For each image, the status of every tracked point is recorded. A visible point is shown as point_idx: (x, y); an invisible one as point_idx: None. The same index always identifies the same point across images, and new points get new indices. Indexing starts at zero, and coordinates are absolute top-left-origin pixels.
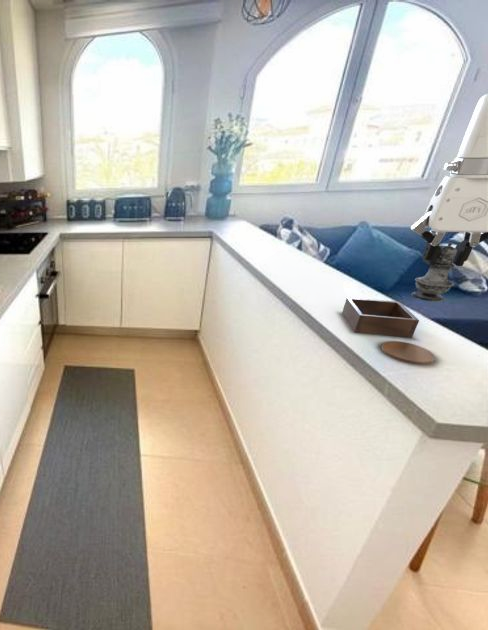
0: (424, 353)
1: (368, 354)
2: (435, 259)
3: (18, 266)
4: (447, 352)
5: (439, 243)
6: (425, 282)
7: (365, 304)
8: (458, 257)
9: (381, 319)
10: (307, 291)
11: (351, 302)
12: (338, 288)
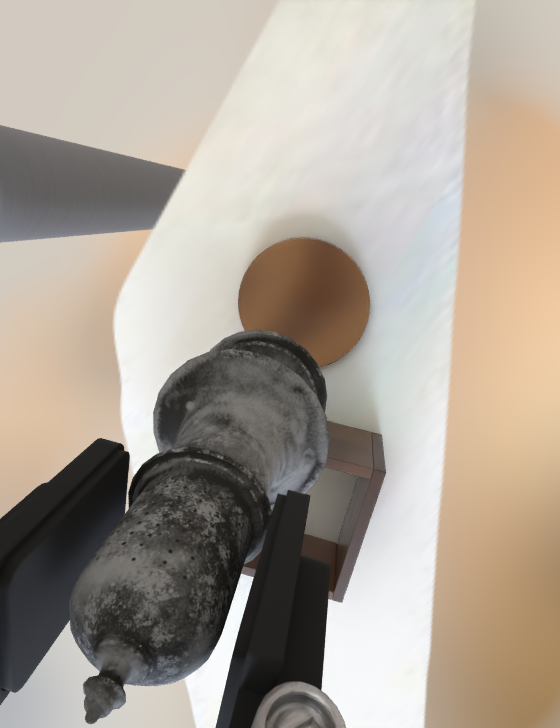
0: (262, 293)
1: (429, 291)
2: (282, 520)
3: None
4: (185, 315)
5: (230, 721)
6: (306, 416)
7: None
8: (91, 515)
9: None
10: (360, 696)
11: (349, 568)
12: None
